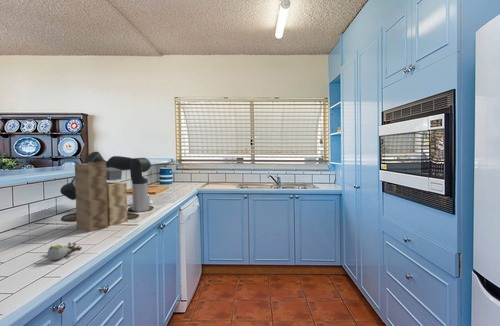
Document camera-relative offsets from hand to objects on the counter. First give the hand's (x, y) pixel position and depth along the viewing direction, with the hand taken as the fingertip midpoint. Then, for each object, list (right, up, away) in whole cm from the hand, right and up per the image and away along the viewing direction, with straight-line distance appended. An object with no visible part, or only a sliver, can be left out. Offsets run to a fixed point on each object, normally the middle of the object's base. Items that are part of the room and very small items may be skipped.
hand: (96, 167), depth 168 cm
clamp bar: (+5, -5, -3) cm, 8 cm away
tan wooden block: (+11, -29, -5) cm, 32 cm away
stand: (+6, -30, -16) cm, 35 cm away
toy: (+14, -33, -53) cm, 64 cm away
